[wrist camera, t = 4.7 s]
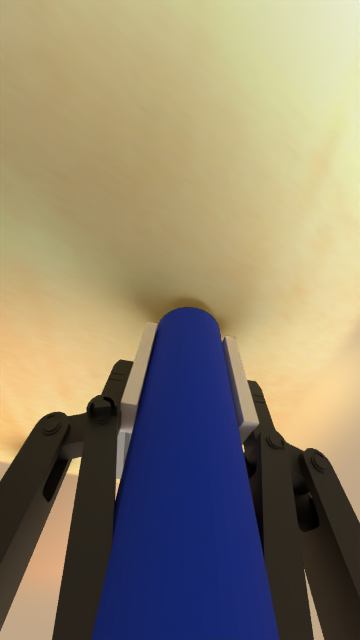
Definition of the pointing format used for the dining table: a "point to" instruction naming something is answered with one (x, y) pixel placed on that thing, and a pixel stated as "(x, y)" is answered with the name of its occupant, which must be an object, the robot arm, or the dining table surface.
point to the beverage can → (185, 504)
